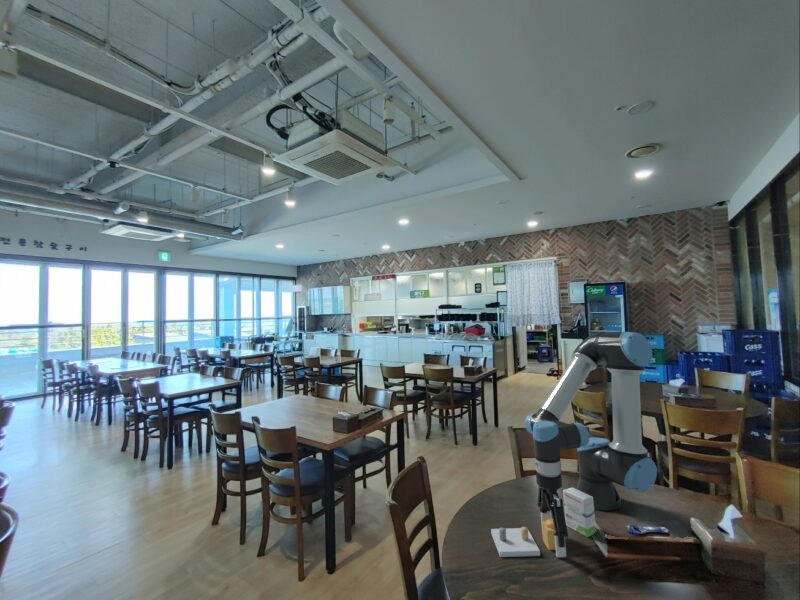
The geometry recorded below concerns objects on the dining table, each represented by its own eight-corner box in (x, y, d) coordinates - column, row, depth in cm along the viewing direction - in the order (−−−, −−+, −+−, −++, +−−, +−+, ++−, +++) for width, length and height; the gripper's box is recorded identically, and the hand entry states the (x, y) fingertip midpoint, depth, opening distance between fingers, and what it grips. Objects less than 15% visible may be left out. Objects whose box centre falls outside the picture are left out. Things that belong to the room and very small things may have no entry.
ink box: (597, 533, 117) (594, 496, 118) (587, 538, 115) (584, 500, 116) (574, 521, 125) (571, 486, 126) (564, 525, 123) (561, 489, 124)
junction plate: (527, 532, 120) (526, 517, 120) (540, 555, 108) (539, 539, 108) (491, 533, 120) (490, 519, 120) (500, 557, 108) (499, 540, 108)
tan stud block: (558, 539, 115) (556, 517, 115) (565, 549, 110) (563, 526, 110) (542, 540, 115) (541, 517, 115) (548, 550, 110) (547, 526, 110)
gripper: (524, 458, 126) (529, 523, 124) (550, 489, 102) (556, 570, 101) (546, 458, 125) (551, 523, 124) (577, 489, 102) (583, 569, 101)
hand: (553, 544), depth 112 cm, fingers open, 11 cm apart
